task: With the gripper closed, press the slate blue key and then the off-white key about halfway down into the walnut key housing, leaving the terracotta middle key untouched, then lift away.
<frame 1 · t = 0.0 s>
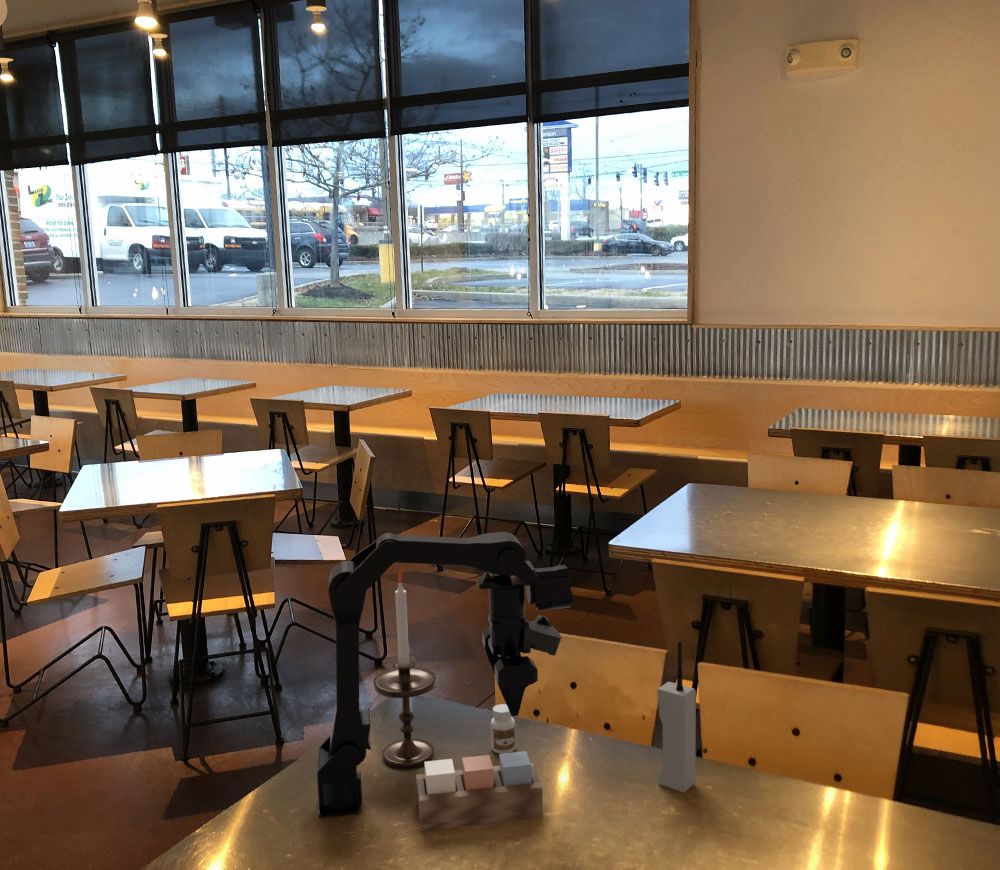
hand: (509, 703, 153), 15 cm above the table, tool pointing down, fingers open, 9 cm apart
key terracotta: (477, 774, 148), point 6 cm above the table, slide at 0.0 cm
key white: (439, 779, 147), point 6 cm above the table, slide at 0.0 cm
pill bottle: (503, 749, 168), on the table
candlestick: (408, 756, 167), on the table
key slate: (515, 770, 149), point 6 cm above the table, slide at 0.0 cm
key housing: (479, 810, 149), on the table
vintage mobile phone: (676, 785, 155), on the table
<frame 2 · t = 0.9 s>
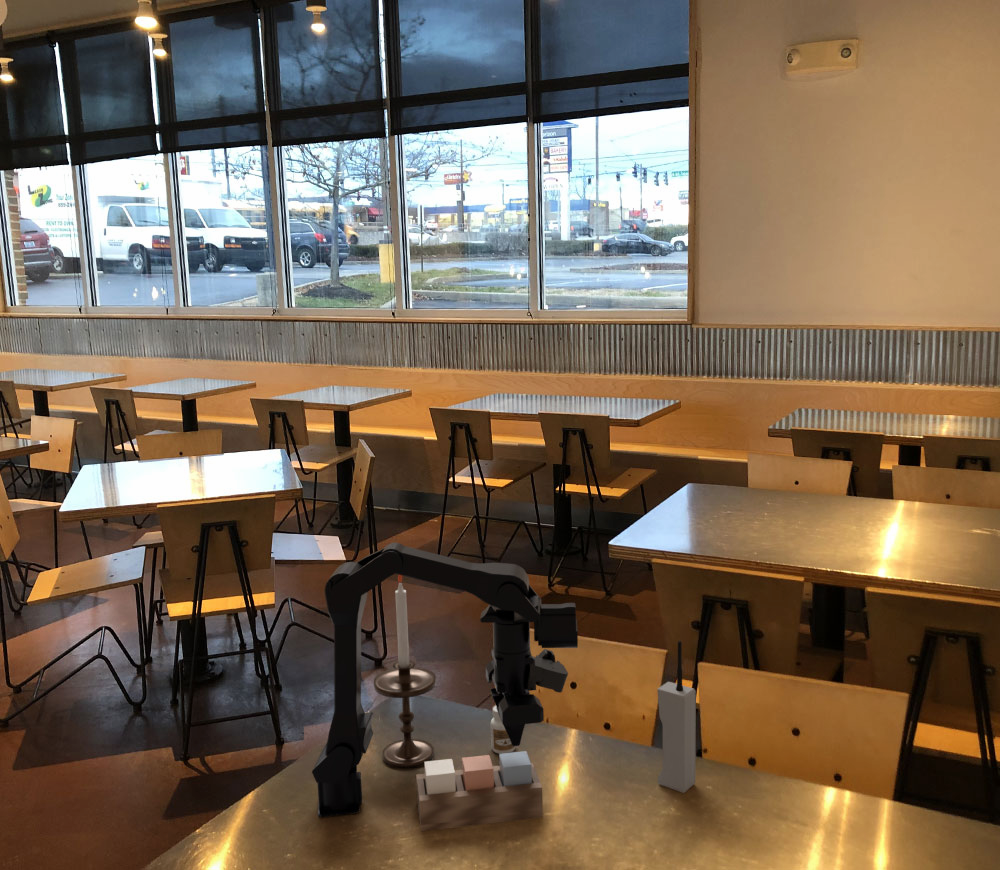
hand: (514, 741, 148), 11 cm above the table, tool pointing down, fingers open, 3 cm apart
nothing on the table moved.
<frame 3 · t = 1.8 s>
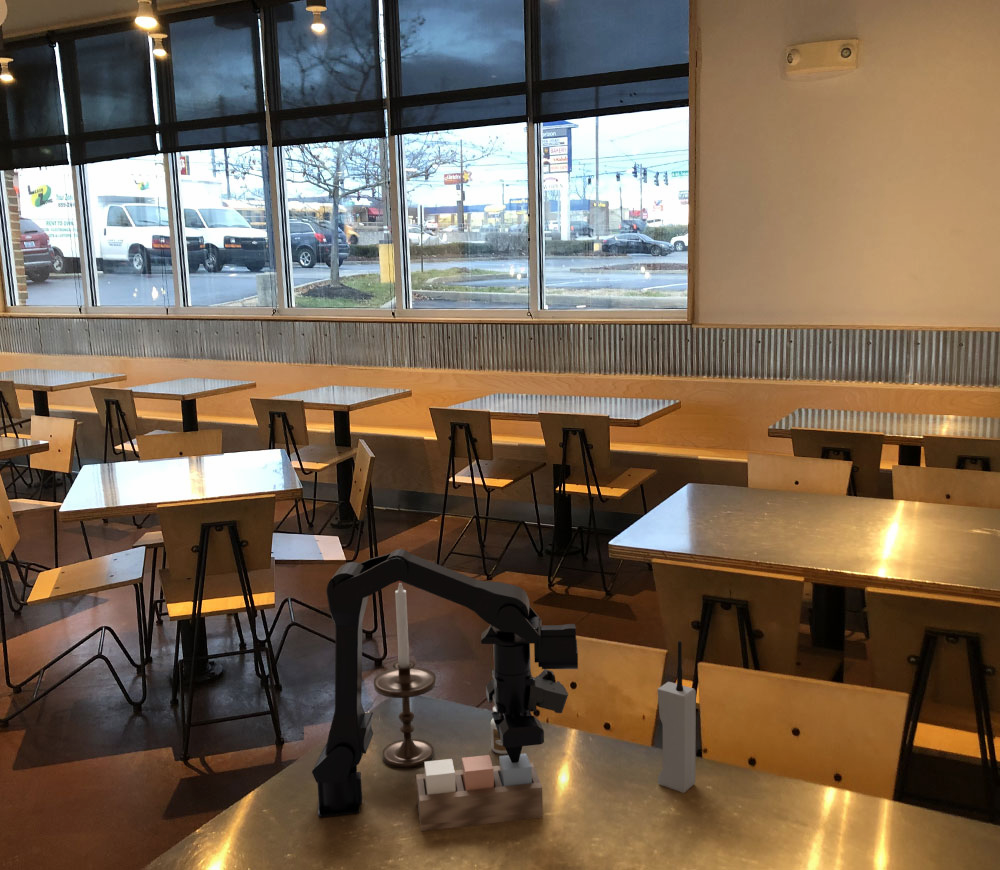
hand: (514, 761, 148), 8 cm above the table, tool pointing down, fingers closed, pressing on key slate
key slate: (515, 773, 149), point 6 cm above the table, slide at 0.4 cm, touching gripper
everything else where it was.
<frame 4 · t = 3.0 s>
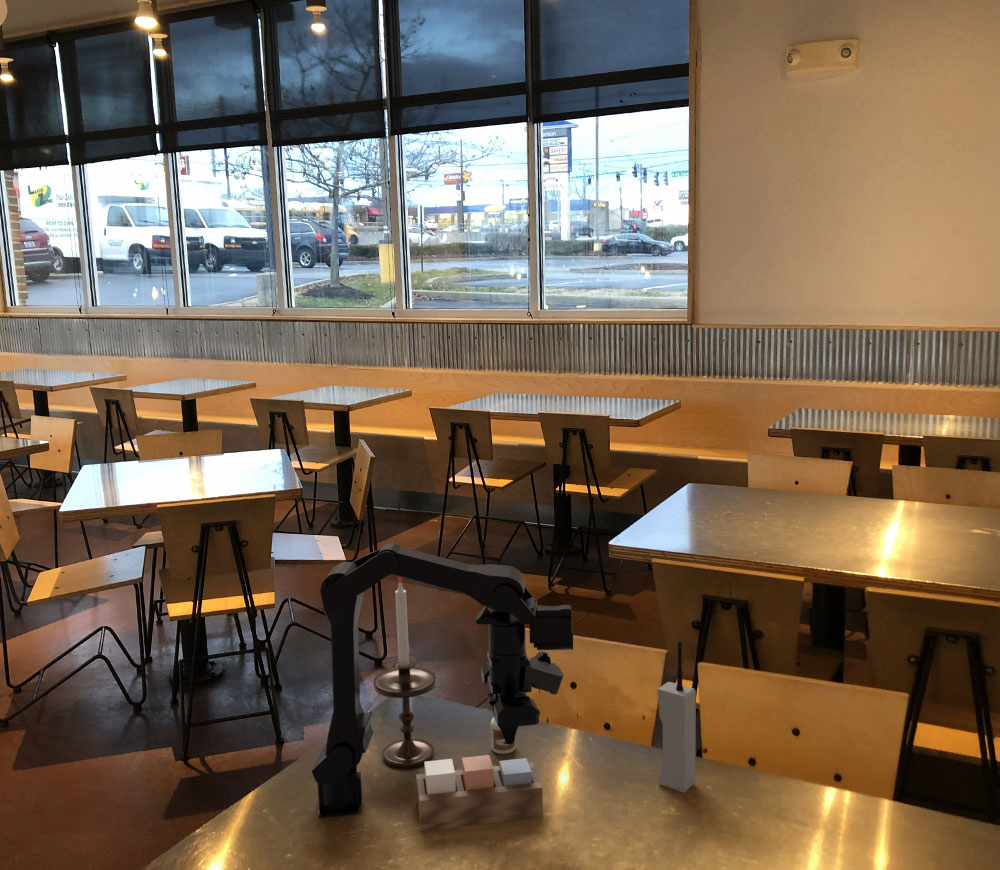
hand: (509, 743, 148), 11 cm above the table, tool pointing down, fingers closed
key slate: (515, 778, 149), point 5 cm above the table, slide at 1.2 cm
everything else where it was.
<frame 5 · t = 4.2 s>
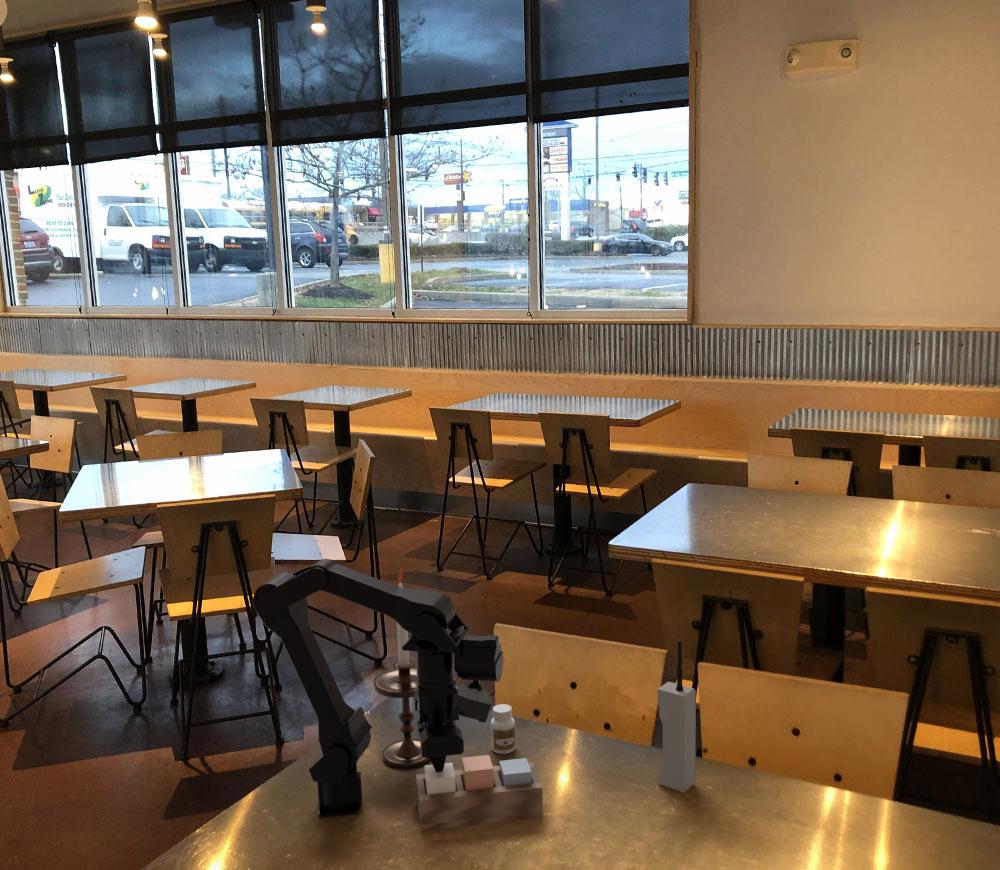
hand: (439, 770, 147), 7 cm above the table, tool pointing down, fingers closed, pressing on key white
key white: (440, 782, 147), point 5 cm above the table, slide at 0.7 cm, touching gripper
everything else where it was.
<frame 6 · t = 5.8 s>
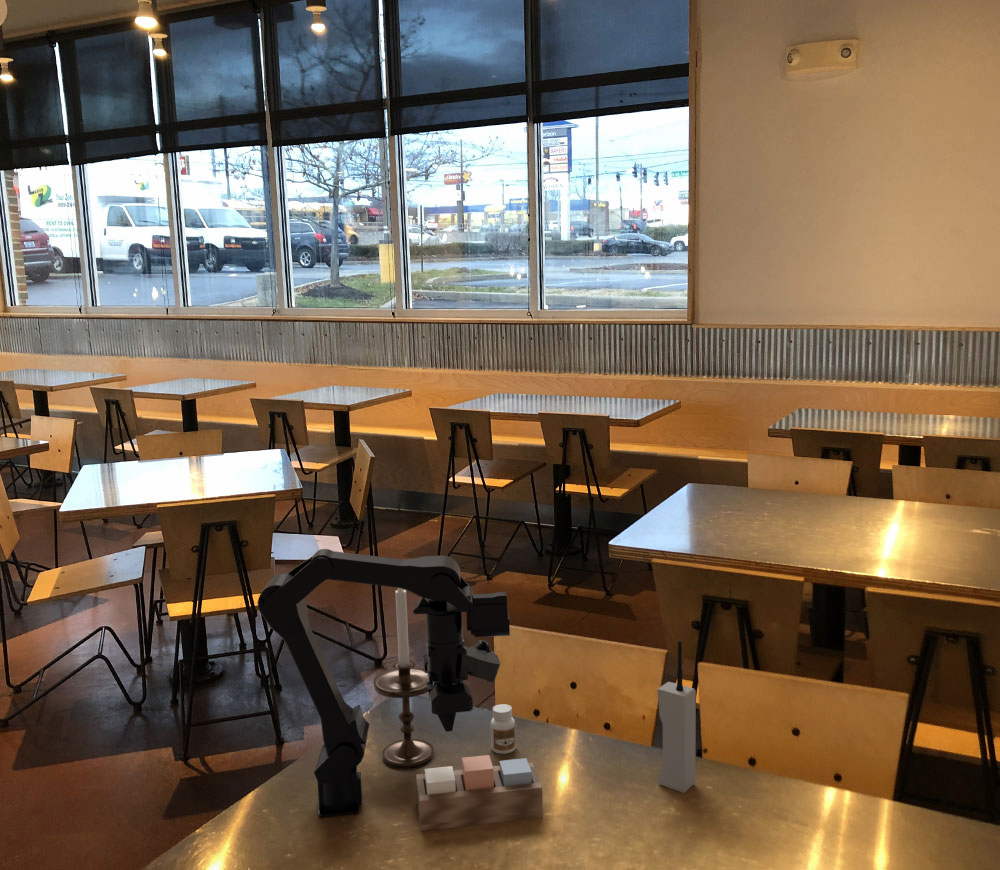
hand: (448, 730, 150), 12 cm above the table, tool pointing down, fingers closed
key white: (440, 786, 147), point 5 cm above the table, slide at 1.2 cm
everything else where it was.
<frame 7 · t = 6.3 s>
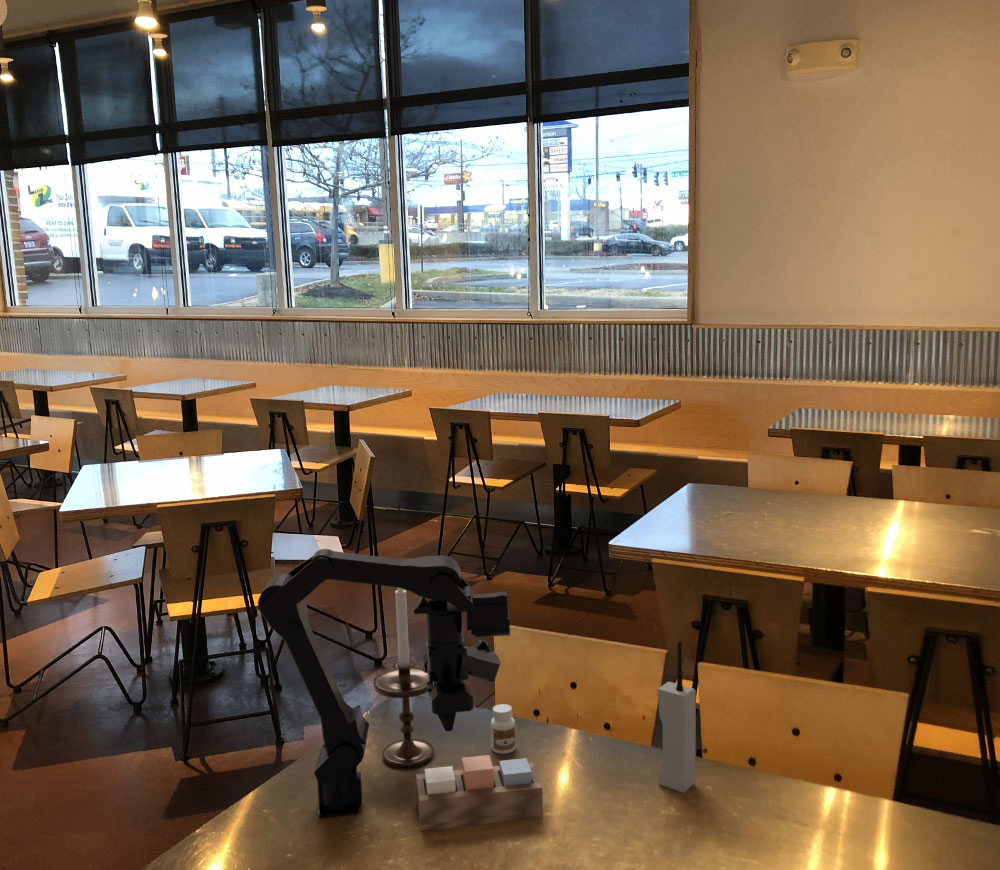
hand: (448, 730, 150), 12 cm above the table, tool pointing down, fingers closed
nothing on the table moved.
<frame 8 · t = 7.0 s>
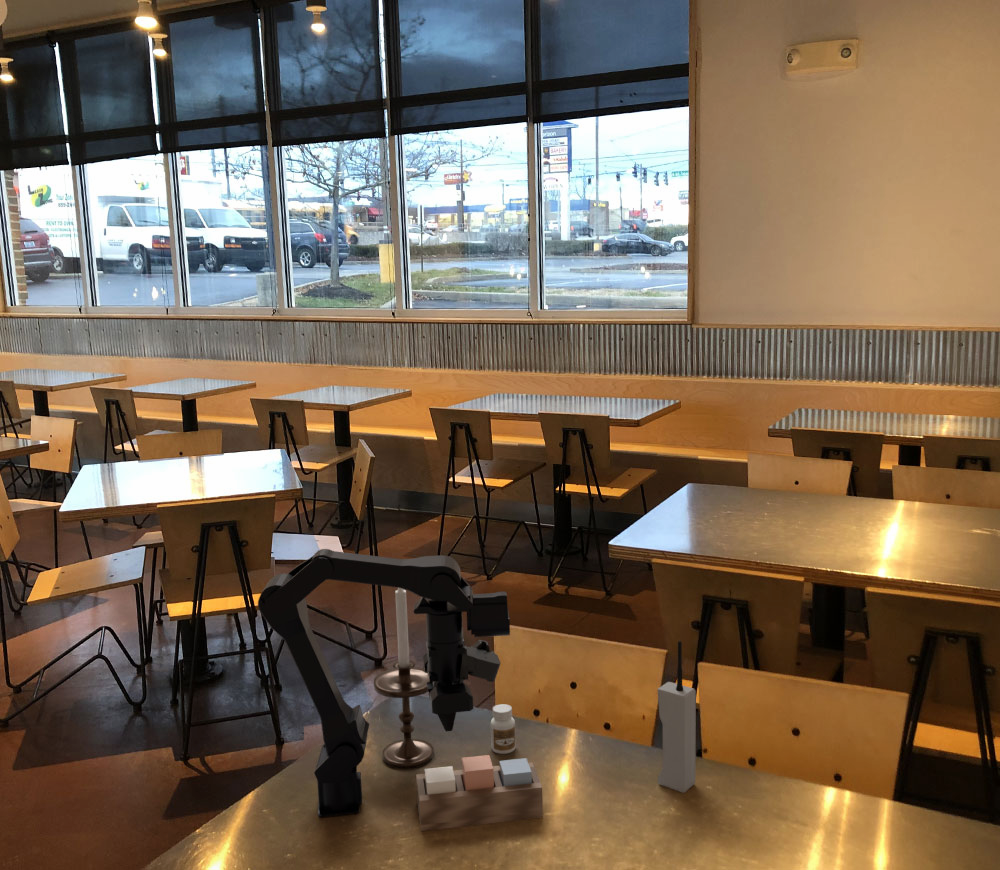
hand: (448, 730, 150), 12 cm above the table, tool pointing down, fingers closed
nothing on the table moved.
at the end: key slate slide at 1.2 cm; key white slide at 1.2 cm; key terracotta slide at 0.0 cm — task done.
